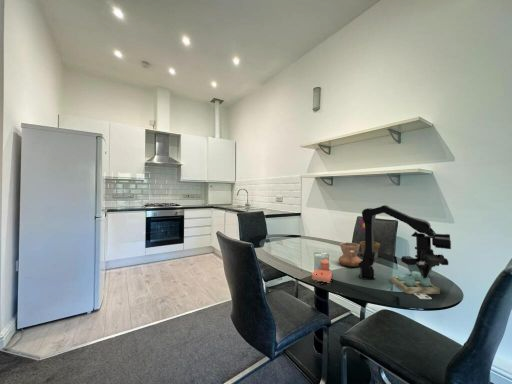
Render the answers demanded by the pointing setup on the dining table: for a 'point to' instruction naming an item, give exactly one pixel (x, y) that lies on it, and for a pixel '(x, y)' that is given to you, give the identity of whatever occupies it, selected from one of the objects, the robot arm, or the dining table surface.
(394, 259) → the dining table surface
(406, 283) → the button
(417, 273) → the button
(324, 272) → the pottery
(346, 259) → the ceramic jug
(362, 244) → the flowerpot
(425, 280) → the button
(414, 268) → the flower pot
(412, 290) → the board
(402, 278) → the button
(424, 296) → the card
